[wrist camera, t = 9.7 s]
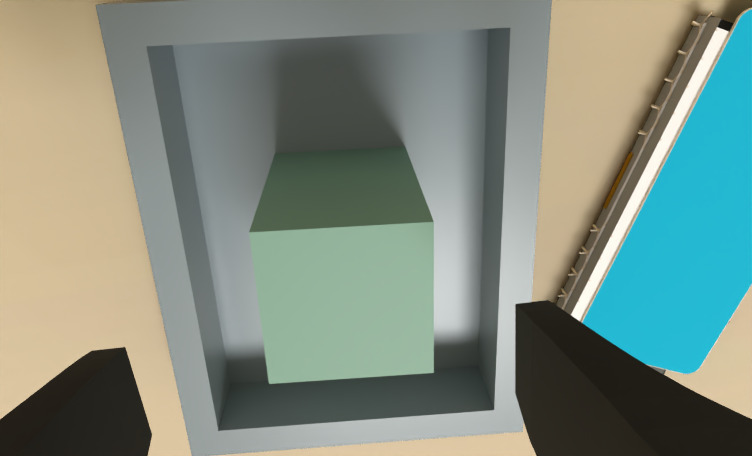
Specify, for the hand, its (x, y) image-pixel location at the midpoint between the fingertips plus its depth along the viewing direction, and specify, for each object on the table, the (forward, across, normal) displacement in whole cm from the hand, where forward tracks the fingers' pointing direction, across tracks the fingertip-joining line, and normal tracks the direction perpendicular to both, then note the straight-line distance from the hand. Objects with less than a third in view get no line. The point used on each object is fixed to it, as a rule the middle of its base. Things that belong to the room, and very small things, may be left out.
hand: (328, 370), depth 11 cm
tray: (+9, 0, +1) cm, 9 cm away
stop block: (+9, 0, 0) cm, 9 cm away
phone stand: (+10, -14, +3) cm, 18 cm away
